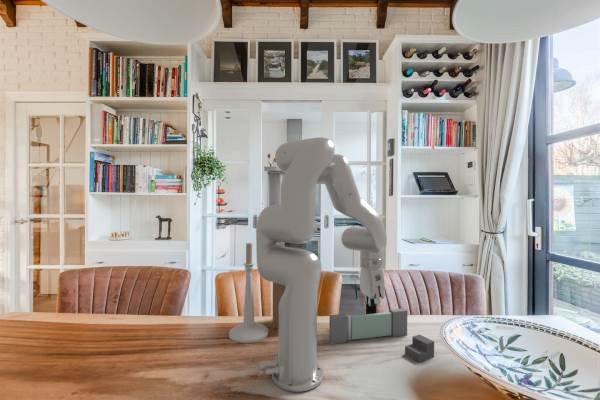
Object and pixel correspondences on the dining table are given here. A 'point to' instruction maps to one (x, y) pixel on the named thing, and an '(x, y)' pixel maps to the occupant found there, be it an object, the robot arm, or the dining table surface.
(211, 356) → the dining table surface
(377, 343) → the dining table surface
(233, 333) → the candlestick
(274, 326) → the wooden block
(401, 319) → the door frame
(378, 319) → the door
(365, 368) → the dining table surface
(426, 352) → the dark grey stepped block
